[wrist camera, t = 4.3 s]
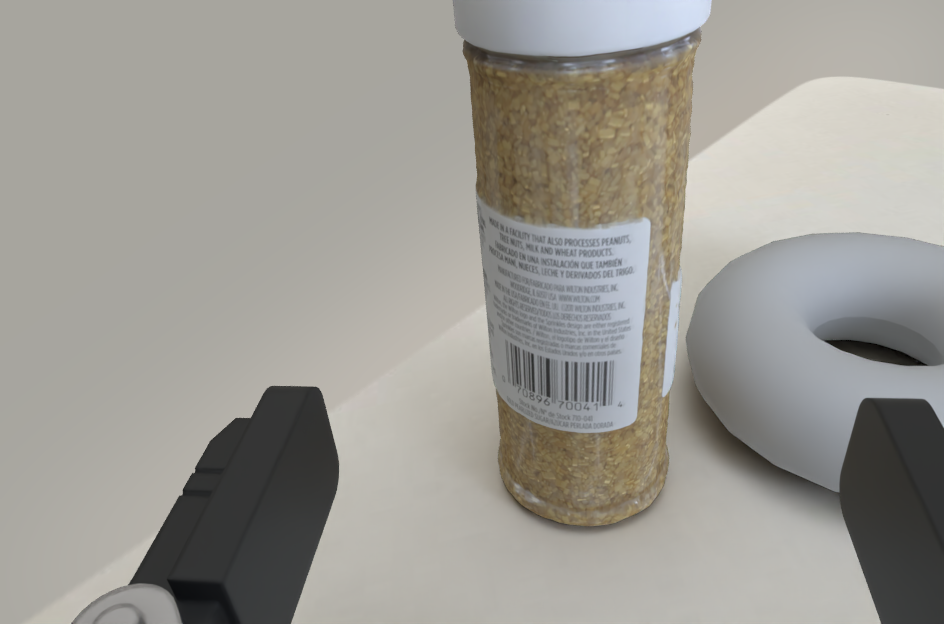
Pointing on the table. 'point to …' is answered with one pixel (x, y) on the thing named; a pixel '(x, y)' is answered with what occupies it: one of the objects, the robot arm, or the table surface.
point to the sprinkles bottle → (582, 238)
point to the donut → (817, 341)
